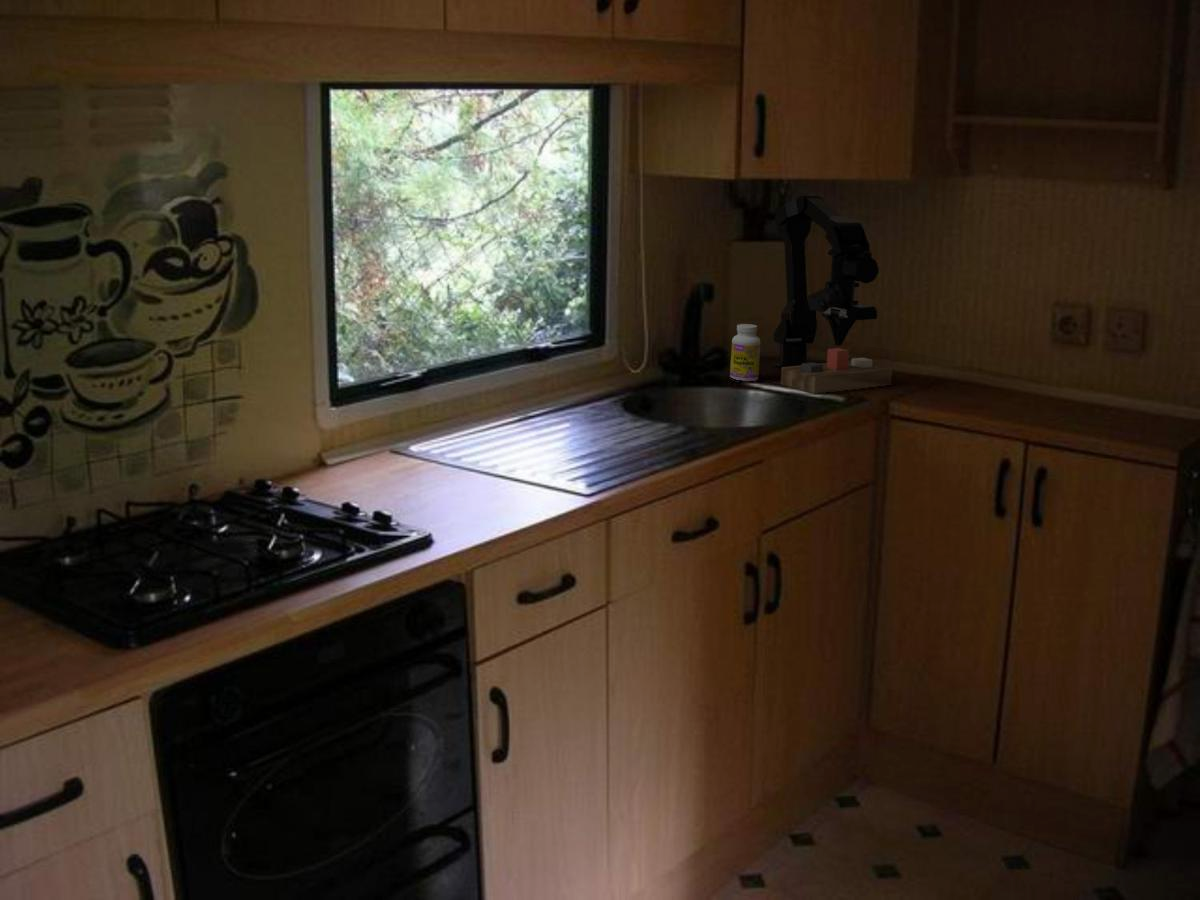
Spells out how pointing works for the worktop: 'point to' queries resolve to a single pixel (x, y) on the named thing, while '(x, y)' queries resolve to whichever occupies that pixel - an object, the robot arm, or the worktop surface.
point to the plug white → (861, 362)
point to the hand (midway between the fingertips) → (838, 345)
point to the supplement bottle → (745, 353)
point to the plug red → (837, 359)
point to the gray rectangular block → (812, 367)
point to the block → (836, 378)
